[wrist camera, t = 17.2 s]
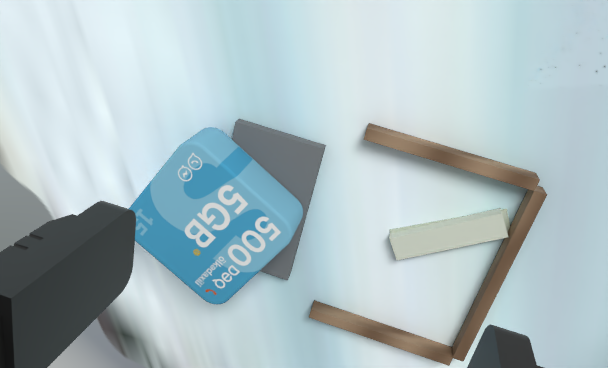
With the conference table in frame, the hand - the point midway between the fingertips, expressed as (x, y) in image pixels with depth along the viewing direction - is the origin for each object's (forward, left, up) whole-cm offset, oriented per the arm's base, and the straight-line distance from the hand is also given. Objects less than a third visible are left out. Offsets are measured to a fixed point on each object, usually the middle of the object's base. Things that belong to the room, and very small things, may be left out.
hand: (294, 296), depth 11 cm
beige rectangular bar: (-9, +12, -33) cm, 36 cm away
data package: (+16, +14, -29) cm, 36 cm away
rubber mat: (+7, +15, -32) cm, 36 cm away
